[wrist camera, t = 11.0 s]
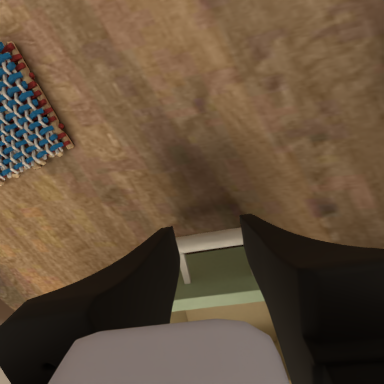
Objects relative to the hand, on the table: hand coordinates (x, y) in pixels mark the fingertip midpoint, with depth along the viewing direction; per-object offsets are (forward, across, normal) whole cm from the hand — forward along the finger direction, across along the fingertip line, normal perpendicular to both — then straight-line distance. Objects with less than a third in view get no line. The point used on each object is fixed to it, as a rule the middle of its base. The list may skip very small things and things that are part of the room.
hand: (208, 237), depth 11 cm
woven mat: (+11, +18, -10) cm, 23 cm away
